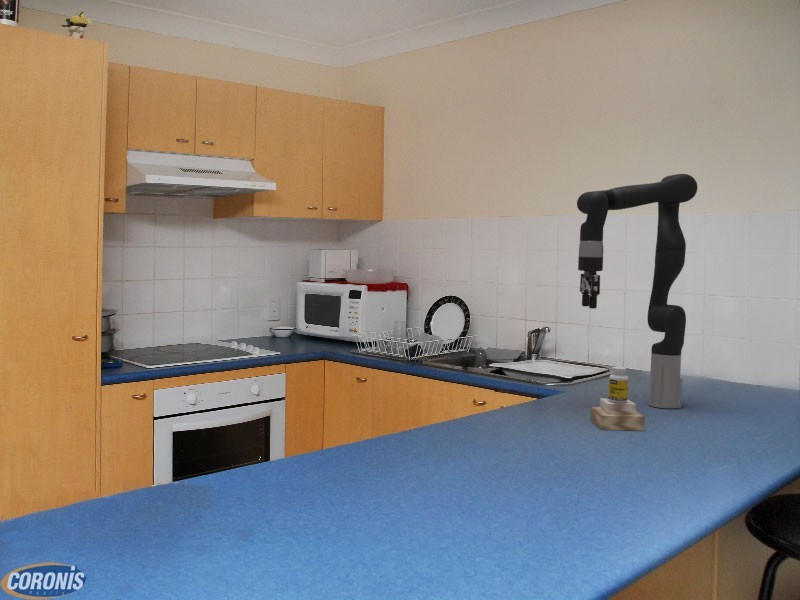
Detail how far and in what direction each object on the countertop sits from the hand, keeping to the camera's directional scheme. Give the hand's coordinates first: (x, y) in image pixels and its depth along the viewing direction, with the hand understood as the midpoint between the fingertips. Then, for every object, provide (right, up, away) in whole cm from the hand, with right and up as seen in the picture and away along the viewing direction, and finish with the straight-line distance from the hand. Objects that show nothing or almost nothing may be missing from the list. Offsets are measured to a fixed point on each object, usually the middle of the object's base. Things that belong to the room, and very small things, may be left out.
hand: (589, 307), depth 245 cm
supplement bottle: (+3, -27, -21) cm, 34 cm away
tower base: (+3, -34, -20) cm, 40 cm away
